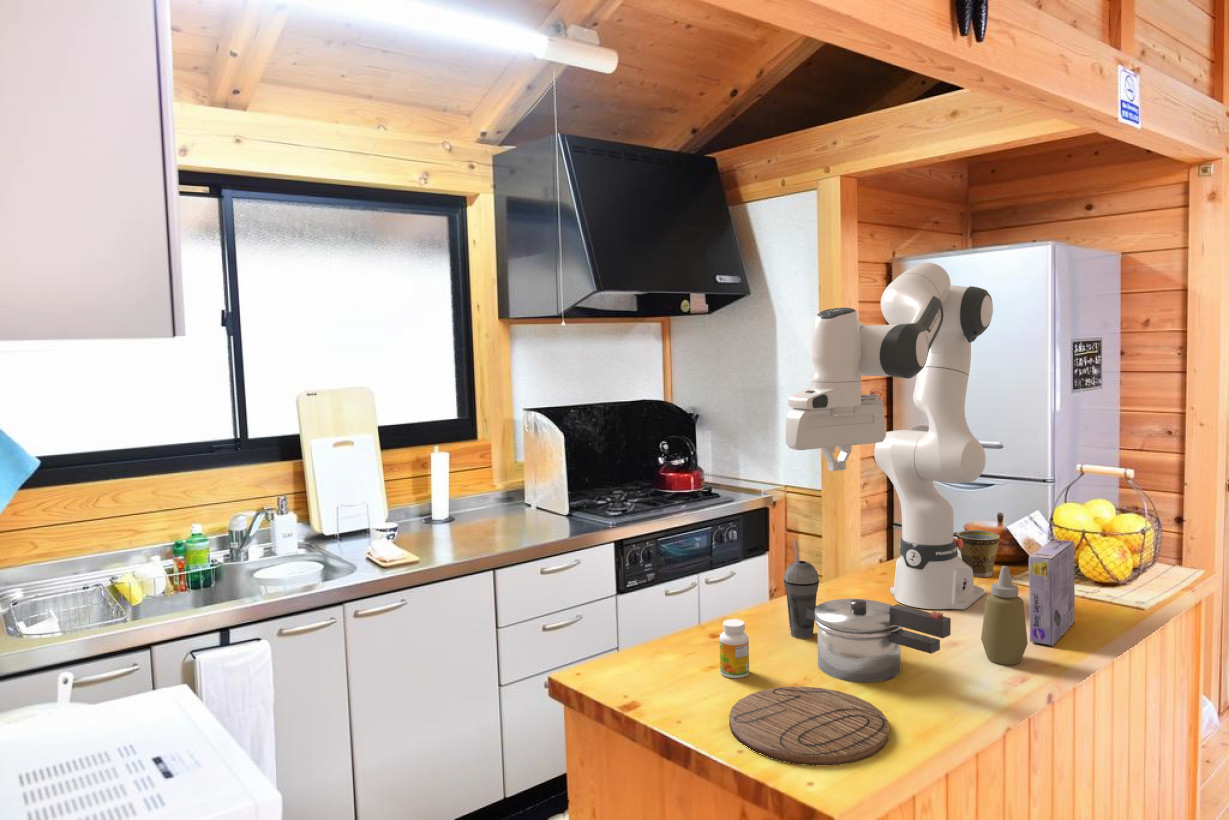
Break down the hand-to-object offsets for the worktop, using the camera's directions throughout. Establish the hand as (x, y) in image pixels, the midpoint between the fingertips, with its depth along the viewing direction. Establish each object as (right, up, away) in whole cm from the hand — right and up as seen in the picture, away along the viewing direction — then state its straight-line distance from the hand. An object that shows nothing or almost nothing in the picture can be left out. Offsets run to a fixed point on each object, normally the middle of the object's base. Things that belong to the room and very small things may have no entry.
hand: (836, 470), depth 167 cm
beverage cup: (-3, -36, +19) cm, 40 cm away
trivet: (-10, -40, -23) cm, 48 cm away
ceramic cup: (+49, -30, +60) cm, 83 cm away
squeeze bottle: (+32, -36, +2) cm, 49 cm away
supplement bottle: (-19, -38, 0) cm, 43 cm away
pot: (+6, -37, 0) cm, 38 cm away
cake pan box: (+48, -34, +16) cm, 62 cm away
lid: (+7, -28, -3) cm, 29 cm away
